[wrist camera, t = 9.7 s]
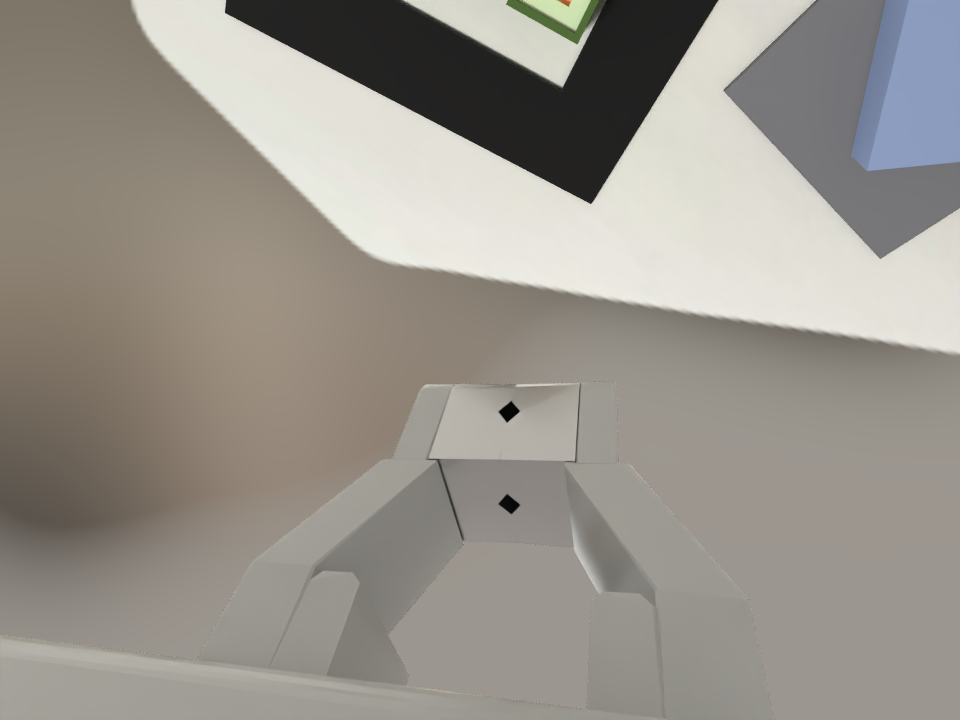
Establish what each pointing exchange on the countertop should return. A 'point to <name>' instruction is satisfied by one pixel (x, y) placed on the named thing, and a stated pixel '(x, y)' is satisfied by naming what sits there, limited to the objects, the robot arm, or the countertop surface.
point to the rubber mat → (840, 123)
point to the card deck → (912, 88)
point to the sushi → (503, 73)
